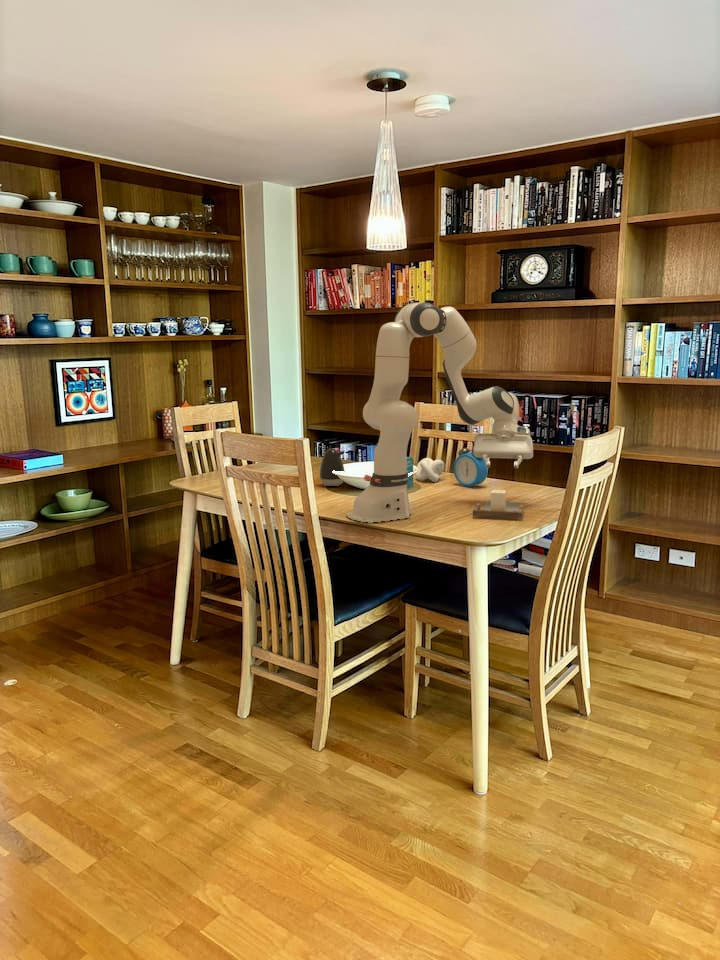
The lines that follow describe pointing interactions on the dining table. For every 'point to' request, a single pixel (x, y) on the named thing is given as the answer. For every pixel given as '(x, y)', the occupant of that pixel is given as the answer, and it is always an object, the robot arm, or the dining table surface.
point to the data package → (410, 469)
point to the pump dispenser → (331, 467)
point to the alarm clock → (469, 468)
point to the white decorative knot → (429, 469)
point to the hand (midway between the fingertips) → (501, 466)
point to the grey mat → (509, 506)
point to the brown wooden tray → (497, 514)
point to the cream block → (498, 500)
